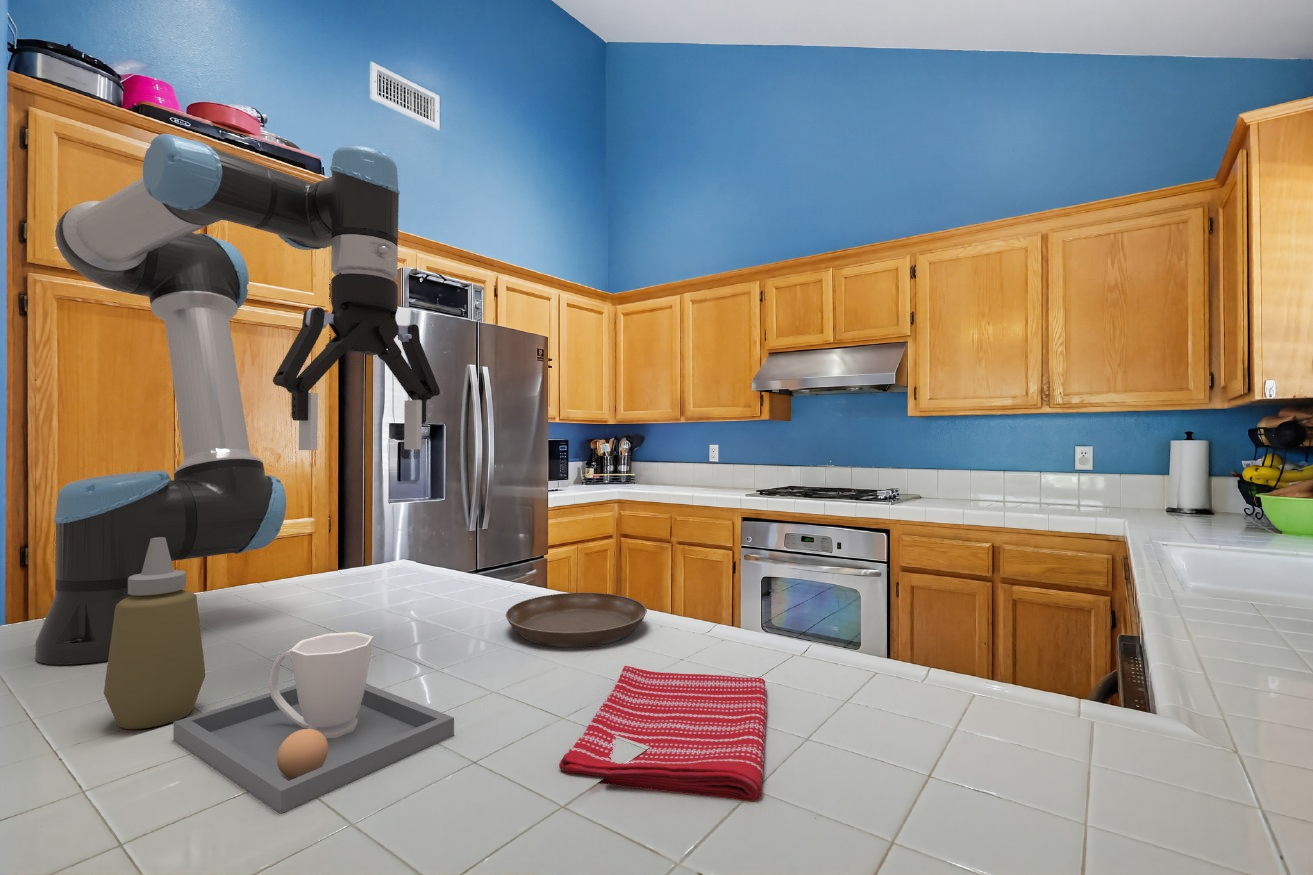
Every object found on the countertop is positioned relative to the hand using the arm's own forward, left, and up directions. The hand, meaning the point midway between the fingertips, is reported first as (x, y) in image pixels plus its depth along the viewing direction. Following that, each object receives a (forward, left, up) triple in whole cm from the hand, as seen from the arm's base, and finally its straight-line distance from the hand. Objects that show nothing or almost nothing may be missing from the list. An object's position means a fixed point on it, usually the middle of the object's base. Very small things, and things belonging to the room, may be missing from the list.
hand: (364, 450), depth 78 cm
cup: (+14, -13, -26) cm, 32 cm away
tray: (+16, -14, -27) cm, 34 cm away
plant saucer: (+11, +27, -27) cm, 40 cm away
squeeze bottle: (-3, -20, -27) cm, 34 cm away
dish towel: (+41, +8, -28) cm, 50 cm away
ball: (+22, -18, -26) cm, 38 cm away
